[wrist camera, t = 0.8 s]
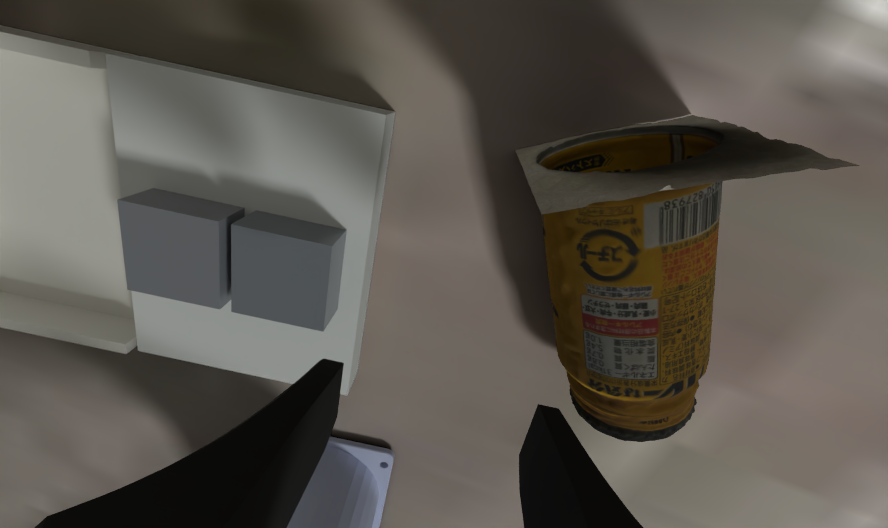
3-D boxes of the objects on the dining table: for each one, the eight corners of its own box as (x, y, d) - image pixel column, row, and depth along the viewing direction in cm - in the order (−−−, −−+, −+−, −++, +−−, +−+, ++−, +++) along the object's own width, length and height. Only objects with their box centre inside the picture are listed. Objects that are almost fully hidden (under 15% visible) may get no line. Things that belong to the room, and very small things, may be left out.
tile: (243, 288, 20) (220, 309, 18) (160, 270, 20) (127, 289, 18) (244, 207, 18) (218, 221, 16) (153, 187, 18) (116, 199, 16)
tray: (159, 328, 24) (126, 354, 21) (-13, 292, 24) (-63, 313, 21) (136, 54, 18) (88, 50, 16) (-89, 5, 18) (-168, -6, 16)
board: (357, 371, 24) (347, 395, 22) (164, 329, 24) (137, 350, 22) (395, 111, 18) (386, 114, 16) (143, 56, 18) (105, 53, 16)
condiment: (513, 145, 18) (544, 363, 23) (540, 208, 11) (577, 511, 16) (693, 109, 17) (684, 346, 22) (864, 150, 10) (793, 495, 15)
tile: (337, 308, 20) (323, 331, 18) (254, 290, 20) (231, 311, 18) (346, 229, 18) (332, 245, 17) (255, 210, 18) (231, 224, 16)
